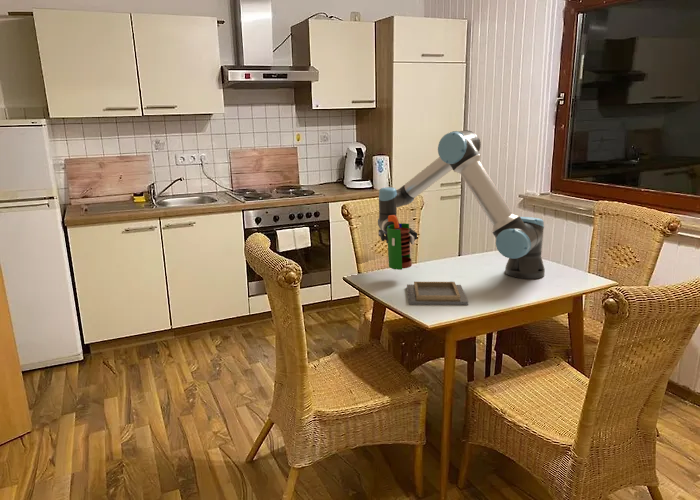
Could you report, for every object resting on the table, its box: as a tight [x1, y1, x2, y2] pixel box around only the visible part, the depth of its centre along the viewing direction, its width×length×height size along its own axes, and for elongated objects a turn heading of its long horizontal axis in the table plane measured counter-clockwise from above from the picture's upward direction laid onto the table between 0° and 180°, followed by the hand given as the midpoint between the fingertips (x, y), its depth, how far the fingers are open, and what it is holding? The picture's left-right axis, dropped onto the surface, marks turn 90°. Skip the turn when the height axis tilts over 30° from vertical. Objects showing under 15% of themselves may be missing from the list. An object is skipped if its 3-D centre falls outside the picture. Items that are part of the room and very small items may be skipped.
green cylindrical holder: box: [387, 215, 413, 271], centre depth 203 cm, size 10×9×20 cm
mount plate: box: [406, 281, 469, 306], centre depth 189 cm, size 20×18×3 cm
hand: (403, 241), depth 198 cm, fingers closed on green cylindrical holder, 7 cm apart
